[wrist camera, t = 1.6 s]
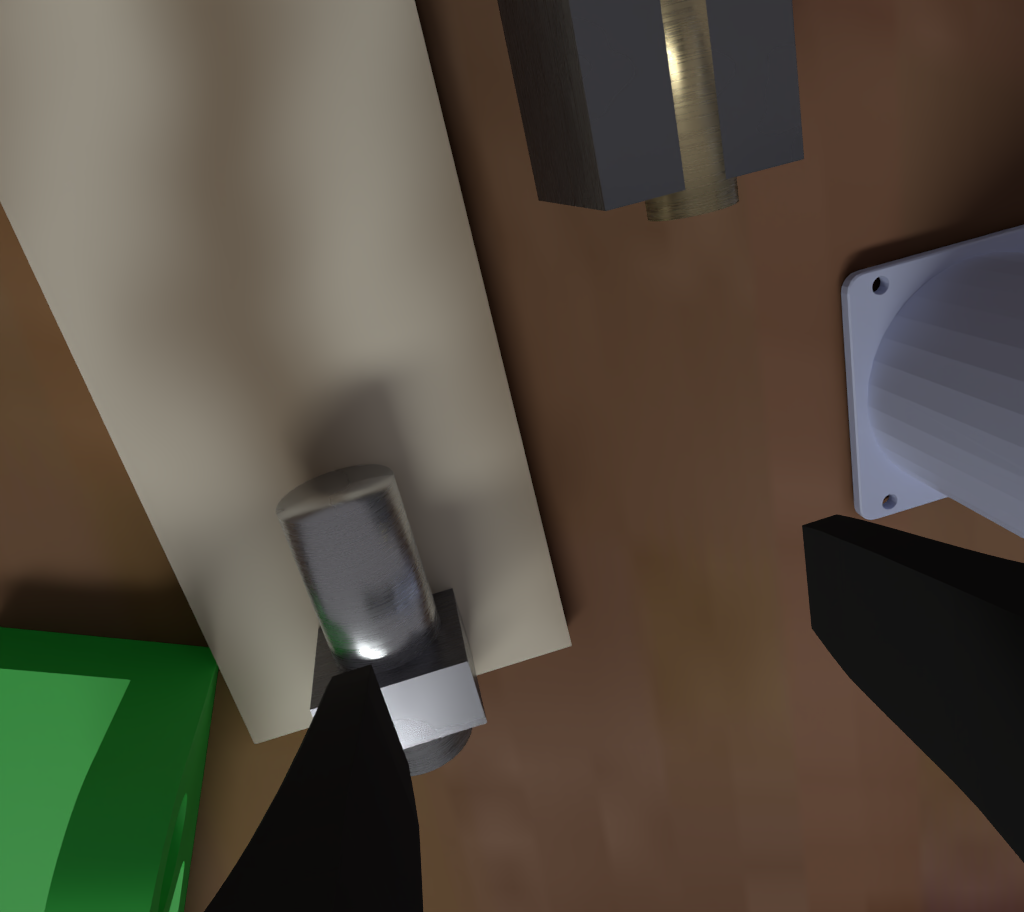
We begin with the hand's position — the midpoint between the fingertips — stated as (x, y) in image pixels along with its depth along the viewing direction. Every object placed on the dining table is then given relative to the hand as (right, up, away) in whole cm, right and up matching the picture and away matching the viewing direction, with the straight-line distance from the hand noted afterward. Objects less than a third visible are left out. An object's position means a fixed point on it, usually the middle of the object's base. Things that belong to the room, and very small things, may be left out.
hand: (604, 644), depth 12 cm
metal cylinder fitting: (-5, -1, +11) cm, 12 cm away
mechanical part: (-14, -8, +12) cm, 20 cm away
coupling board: (-8, +9, +7) cm, 13 cm away
